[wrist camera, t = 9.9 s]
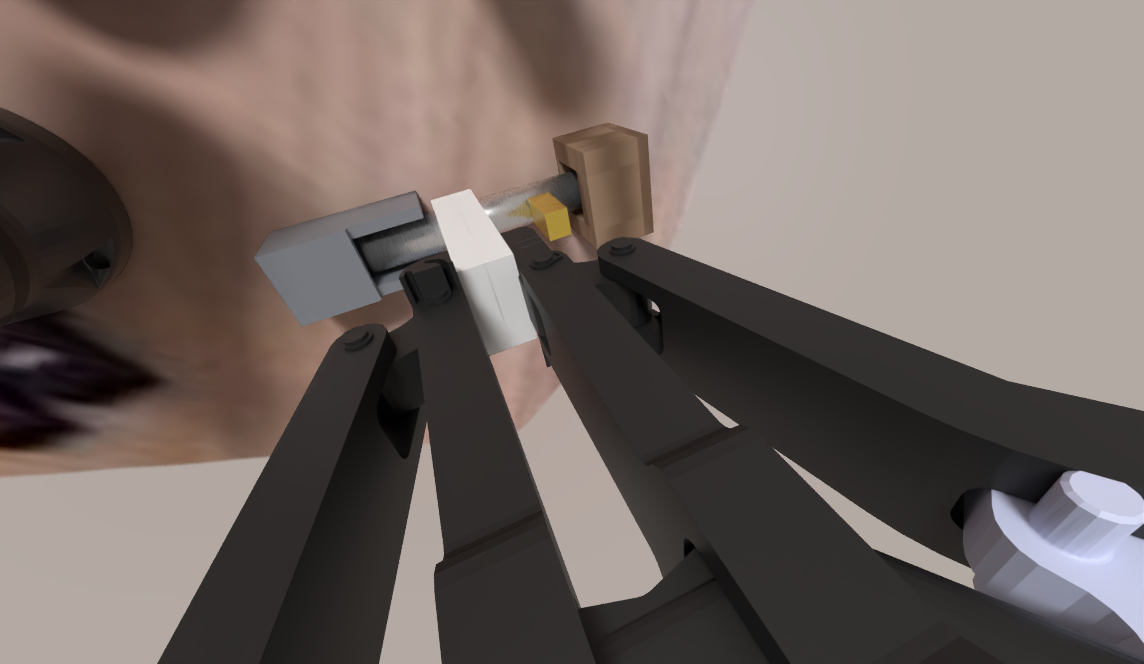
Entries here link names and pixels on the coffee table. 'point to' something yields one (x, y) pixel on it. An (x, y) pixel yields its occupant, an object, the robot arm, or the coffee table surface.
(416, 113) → the coffee table surface
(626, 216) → the socket
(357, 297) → the sleeve
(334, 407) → the robot arm
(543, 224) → the tube
